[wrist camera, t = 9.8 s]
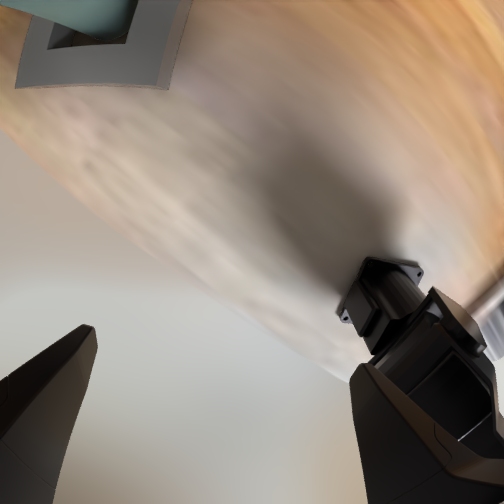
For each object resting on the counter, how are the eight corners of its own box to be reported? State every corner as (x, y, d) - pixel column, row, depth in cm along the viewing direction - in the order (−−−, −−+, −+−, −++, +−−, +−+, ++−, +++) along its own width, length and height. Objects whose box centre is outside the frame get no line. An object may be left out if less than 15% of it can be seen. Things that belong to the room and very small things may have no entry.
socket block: (208, -43, 11) (204, -63, 9) (168, 90, 16) (156, 85, 13) (75, -32, 10) (58, -44, 7) (38, 88, 14) (14, 88, 12)
